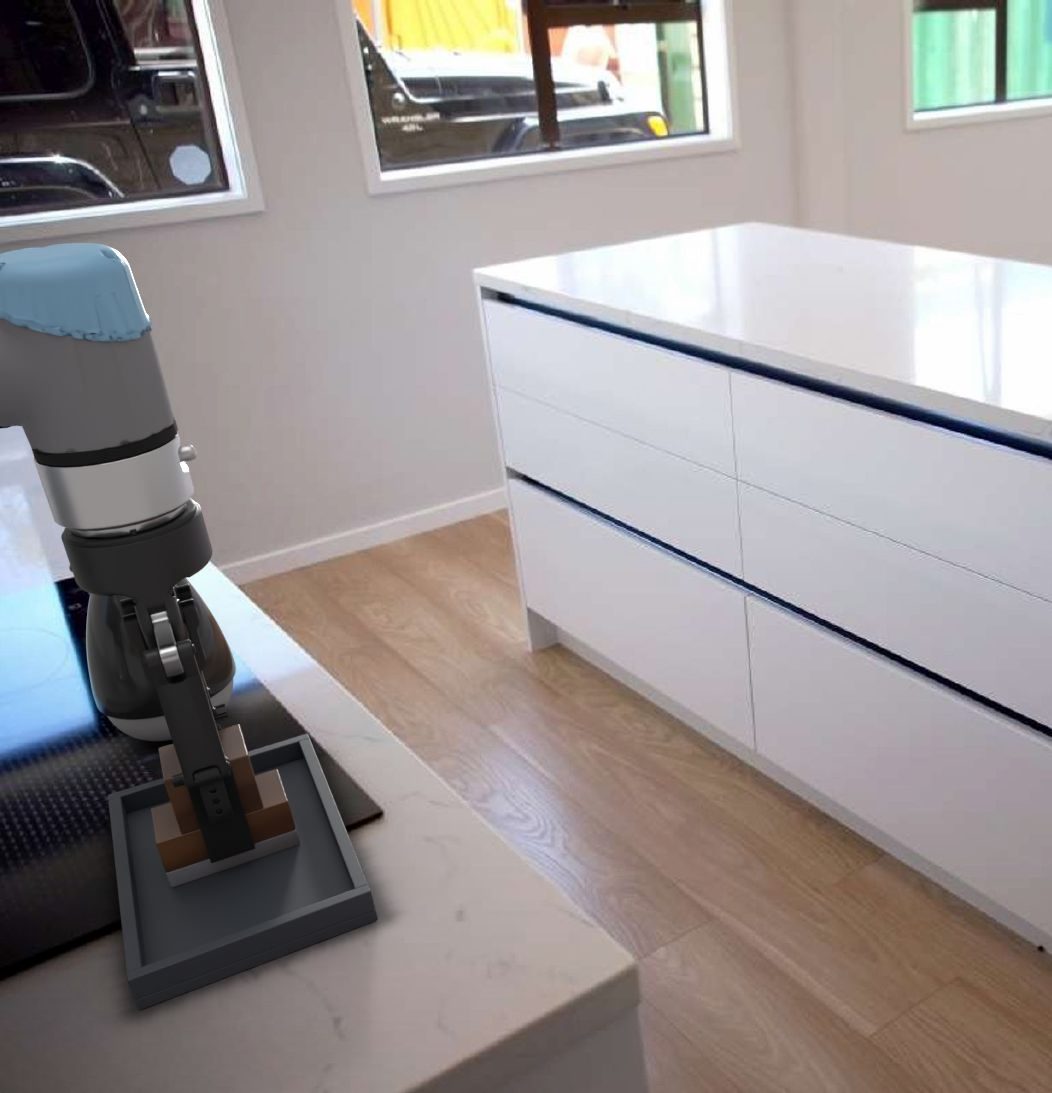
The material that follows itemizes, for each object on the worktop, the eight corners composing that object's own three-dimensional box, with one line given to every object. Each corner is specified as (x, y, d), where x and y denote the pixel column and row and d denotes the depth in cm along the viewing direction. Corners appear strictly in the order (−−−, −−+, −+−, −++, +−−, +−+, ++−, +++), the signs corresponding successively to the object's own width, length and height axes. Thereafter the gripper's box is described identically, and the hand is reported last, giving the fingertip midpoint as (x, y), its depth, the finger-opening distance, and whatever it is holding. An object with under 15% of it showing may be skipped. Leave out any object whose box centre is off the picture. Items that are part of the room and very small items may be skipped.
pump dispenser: (165, 686, 106) (113, 524, 100) (272, 694, 104) (227, 528, 98) (77, 754, 97) (15, 579, 91) (193, 763, 95) (138, 585, 89)
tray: (378, 919, 78) (370, 890, 77) (138, 1010, 72) (127, 980, 71) (314, 758, 95) (307, 732, 94) (116, 820, 89) (107, 794, 88)
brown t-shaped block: (300, 844, 84) (273, 747, 81) (170, 888, 80) (137, 788, 77) (289, 810, 88) (263, 716, 84) (165, 851, 84) (132, 754, 81)
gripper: (214, 546, 68) (308, 883, 78) (184, 457, 82) (268, 752, 92) (59, 582, 65) (178, 929, 75) (56, 483, 79) (157, 786, 89)
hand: (227, 831), depth 83 cm, fingers closed on brown t-shaped block, 4 cm apart
